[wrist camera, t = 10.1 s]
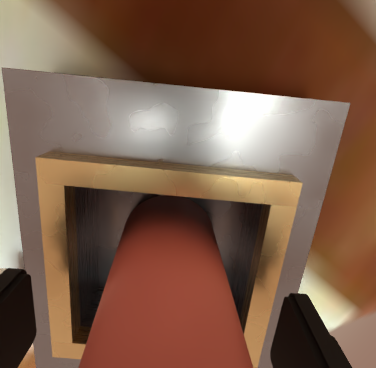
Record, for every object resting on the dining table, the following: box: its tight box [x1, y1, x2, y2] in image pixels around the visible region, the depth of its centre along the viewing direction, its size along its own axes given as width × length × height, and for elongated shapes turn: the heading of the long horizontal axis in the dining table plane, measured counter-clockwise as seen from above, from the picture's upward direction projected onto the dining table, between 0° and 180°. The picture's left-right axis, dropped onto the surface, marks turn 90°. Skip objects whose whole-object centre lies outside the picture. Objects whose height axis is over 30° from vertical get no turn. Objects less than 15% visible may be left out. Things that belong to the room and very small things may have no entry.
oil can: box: [78, 195, 253, 368], centre depth 9 cm, size 5×5×13 cm
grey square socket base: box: [0, 68, 350, 368], centre depth 14 cm, size 16×16×5 cm
